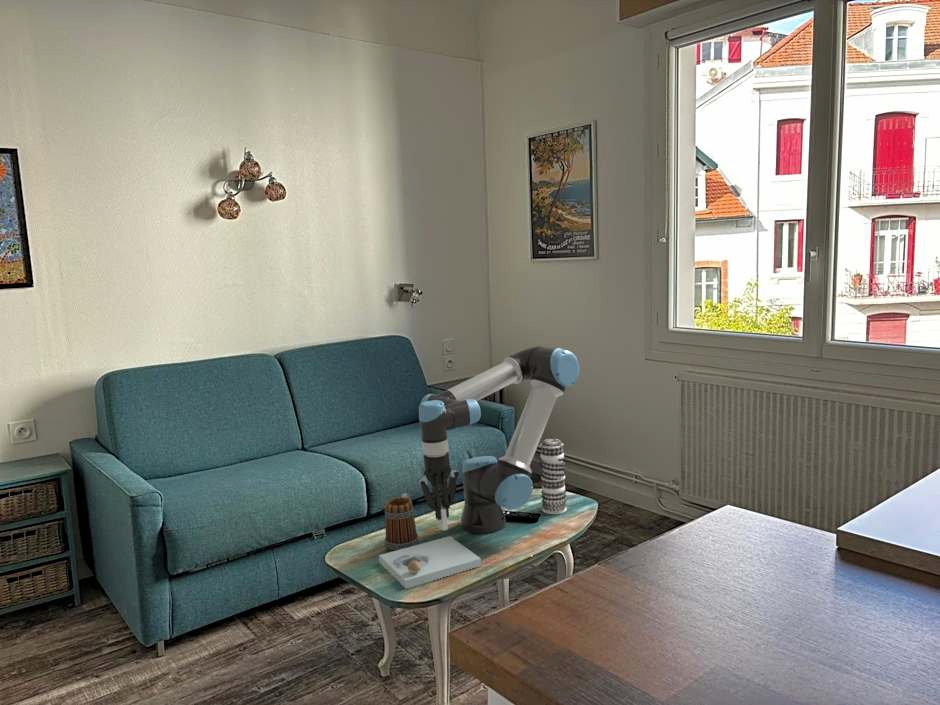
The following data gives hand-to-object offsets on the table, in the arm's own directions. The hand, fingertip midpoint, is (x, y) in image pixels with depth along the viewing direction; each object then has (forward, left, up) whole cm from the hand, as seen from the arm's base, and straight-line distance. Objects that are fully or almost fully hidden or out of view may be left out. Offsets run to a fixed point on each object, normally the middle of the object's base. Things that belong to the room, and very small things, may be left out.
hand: (443, 528), depth 217 cm
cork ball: (+14, +8, -5) cm, 17 cm away
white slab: (+6, +1, -10) cm, 11 cm away
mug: (+6, -18, -10) cm, 21 cm away
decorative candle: (-49, -13, -10) cm, 52 cm away
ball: (+11, +1, -8) cm, 13 cm away
